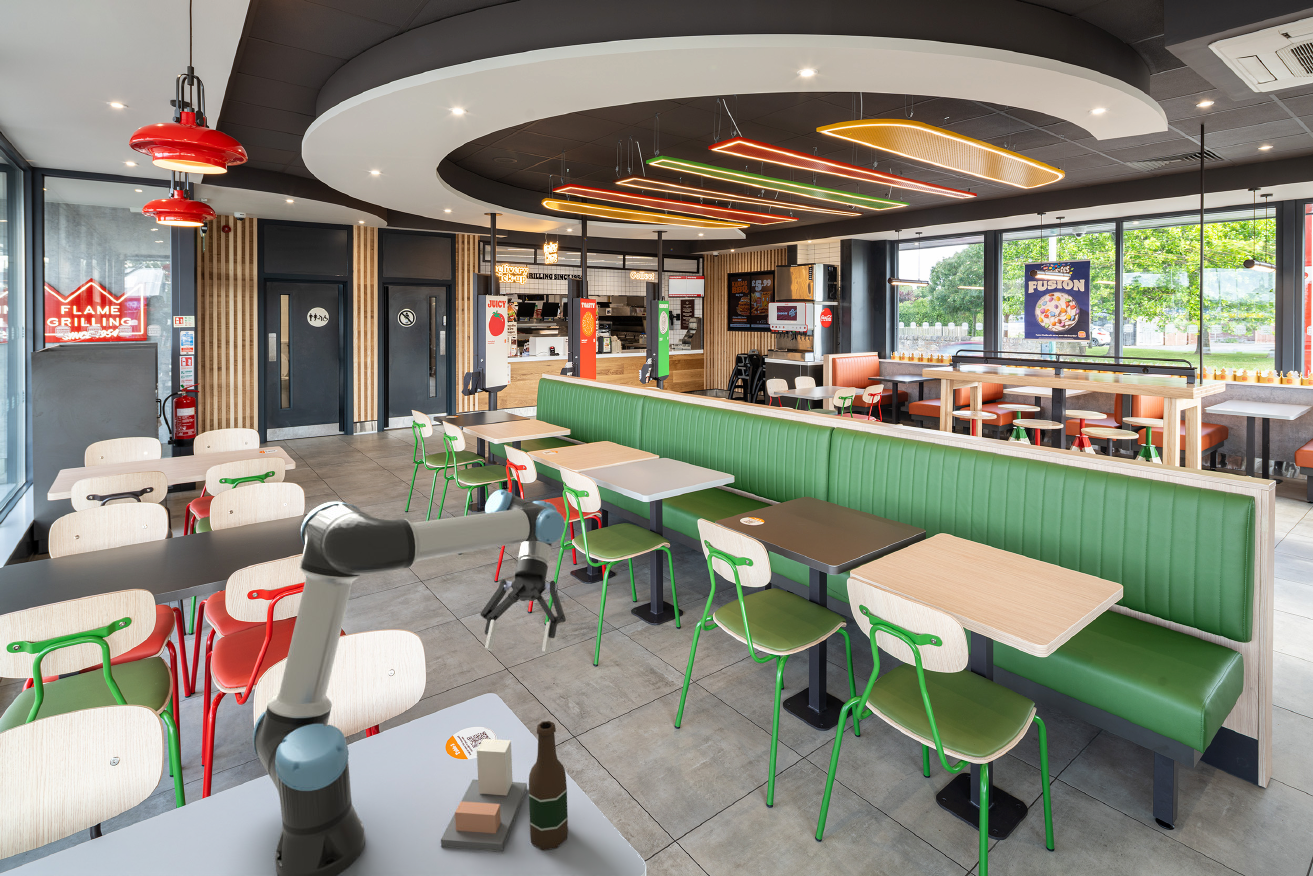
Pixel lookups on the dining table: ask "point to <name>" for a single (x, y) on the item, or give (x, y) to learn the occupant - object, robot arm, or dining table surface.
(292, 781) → the robot arm
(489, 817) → the peach rectangular block
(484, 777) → the cream tall block
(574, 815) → the dining table surface
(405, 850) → the dining table surface
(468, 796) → the base
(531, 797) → the beer bottle
